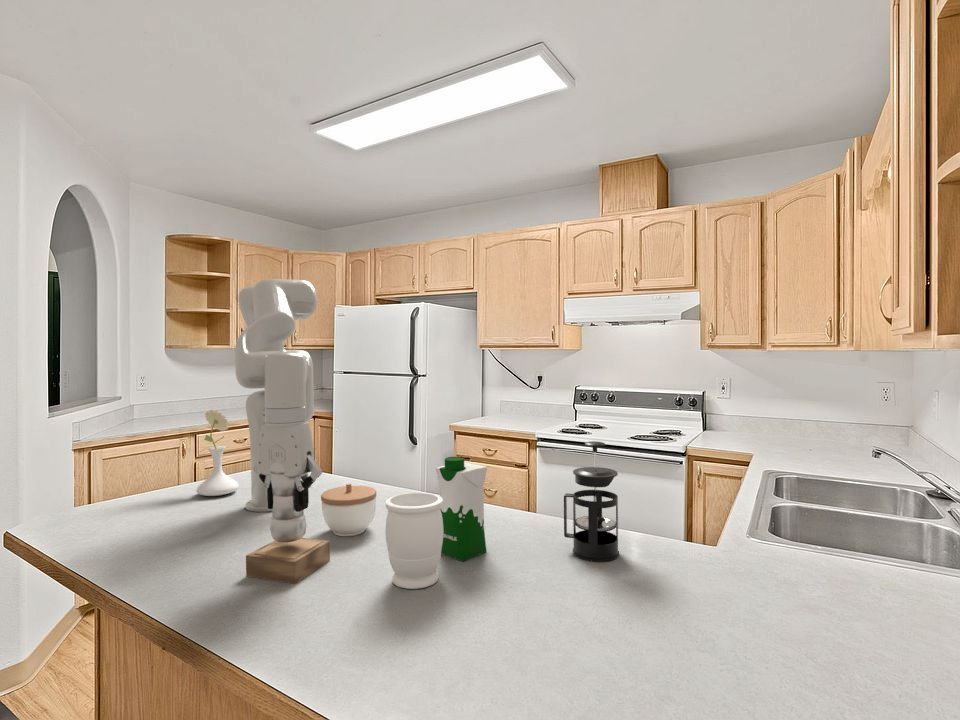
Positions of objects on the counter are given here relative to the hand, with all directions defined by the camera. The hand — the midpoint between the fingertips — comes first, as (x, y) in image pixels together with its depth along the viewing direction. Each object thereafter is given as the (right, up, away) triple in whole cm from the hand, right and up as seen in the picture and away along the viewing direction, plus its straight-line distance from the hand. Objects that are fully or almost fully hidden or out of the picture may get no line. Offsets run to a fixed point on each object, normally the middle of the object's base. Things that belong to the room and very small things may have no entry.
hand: (288, 507), depth 105 cm
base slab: (0, -12, 0) cm, 12 cm away
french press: (+61, -11, +6) cm, 62 cm away
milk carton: (+34, -12, +7) cm, 37 cm away
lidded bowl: (+7, -12, +21) cm, 25 cm away
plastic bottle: (0, -7, 0) cm, 7 cm away
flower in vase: (-41, -11, +55) cm, 70 cm away
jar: (+26, -12, -6) cm, 29 cm away
